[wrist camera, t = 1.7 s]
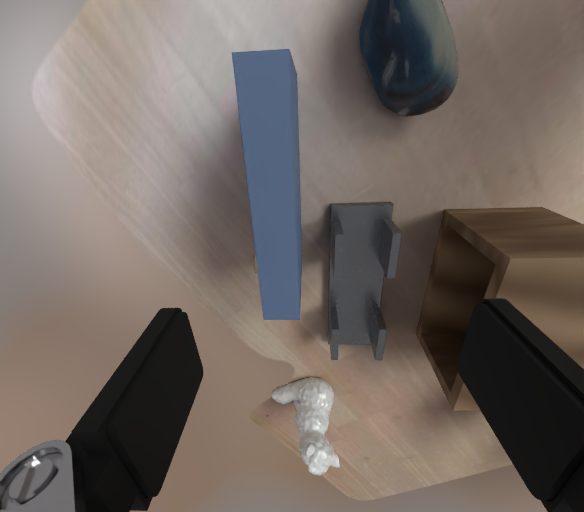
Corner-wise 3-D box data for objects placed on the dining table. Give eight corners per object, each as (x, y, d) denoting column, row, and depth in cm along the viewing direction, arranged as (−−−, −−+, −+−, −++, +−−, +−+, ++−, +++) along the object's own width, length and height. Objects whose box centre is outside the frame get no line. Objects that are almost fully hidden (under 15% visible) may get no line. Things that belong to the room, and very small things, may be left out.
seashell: (422, 138, 24) (540, -5, 15) (329, 90, 24) (396, -85, 15) (429, 102, 27) (531, -35, 19) (347, 59, 27) (412, -101, 18)
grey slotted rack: (330, 203, 30) (334, 219, 26) (390, 202, 30) (405, 218, 25) (327, 339, 39) (330, 368, 35) (373, 339, 39) (381, 368, 35)
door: (250, 77, 25) (209, 53, 14) (297, 74, 25) (289, 48, 14) (267, 252, 33) (249, 319, 23) (302, 252, 33) (299, 319, 23)
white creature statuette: (270, 389, 45) (259, 474, 35) (302, 361, 42) (300, 446, 31) (315, 412, 48) (317, 498, 37) (348, 387, 44) (361, 475, 34)
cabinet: (444, 209, 30) (510, 258, 20) (542, 207, 29) (659, 256, 19) (416, 334, 38) (453, 410, 28) (491, 334, 38) (555, 413, 28)
